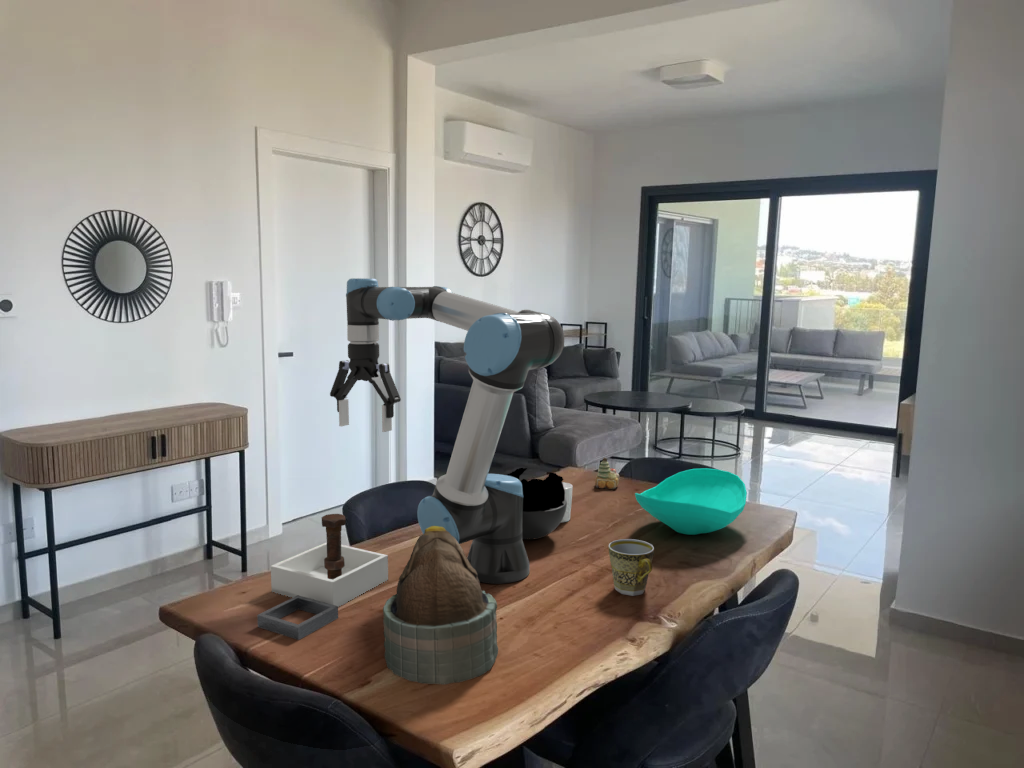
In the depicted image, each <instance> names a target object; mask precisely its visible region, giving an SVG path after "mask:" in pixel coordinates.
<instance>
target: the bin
mask: <svg viewBox="0 0 1024 768" xmlns="http://www.w3.org/2000/svg"><path fill="white" fill-rule="evenodd" d="M341 550H342V551H341V553H342V554H341V556H343V557H344V561H345V566H344V567H343V568H342V575H341V576H339V577H337V578H335V579H333V580H332V579H328V577H327V575H328V574H327V569H326V568H325V567H324V559H325V558H326V557H327V541H326V542H324V543H322V544H320V545H317V546H314V547H312V548H310V549H307V550H305V551H302V552H300V553H298V554H296V555H293V556H290V557H289V558H286V559H284V560H282V561H278V562H276V563H274V564H272V565H270V582H271V587H270V588H271V592H272V593H273V592H275V593H274V594H277V593H278V595H280V594H281V596H284V595H286V596H285V597H287V596H288V597H287V598H291V597H292V598H293V597H295V596H297V595H299V596H303V597H306V598H310V599H314V600H317V601H321V602H324V603H328V604H331V605H335V606H338V608H340V607H341V605H342V606H344V605H345V604H347V603H348V601H349V602H351V601H352V599H353V600H355V599H356V598H358V597H360V596H362V595H364V594H366V593H367V592H366V591H368V590H369V591H371V590H373V589H375V588H377V587H379V586H380V585H379V584H381V583H382V584H384V583H386V582H388V581H389V555H388V554H383V553H380V552H375V551H370V550H367V549H363V548H358V547H353V546H349V545H345V544H341ZM387 580H388V581H387ZM385 581H386V582H385ZM383 582H384V583H383ZM382 584H381V585H382ZM378 585H379V586H378ZM376 586H377V587H376ZM374 587H375V588H374ZM372 588H373V589H372ZM370 589H371V590H370ZM369 591H368V592H369ZM365 592H366V593H365ZM363 593H364V594H363ZM361 594H362V595H361ZM359 595H360V596H359ZM357 596H358V597H357ZM355 597H356V598H355ZM354 598H355V599H354ZM350 600H351V601H350ZM339 606H340V607H339Z"/></svg>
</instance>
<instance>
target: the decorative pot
mask: <svg viewBox="0 0 1024 768" xmlns="http://www.w3.org/2000/svg"><path fill="white" fill-rule="evenodd" d="M477 575H478V574H477V572H476V570H475V569H474V568H473V567H472V566H471V564H470V563H469V561H468V559H467V556H466V552H464V550H463V548H462V546H461V544H459V543H458V542H457V540H456V539H455V538H454V537H453V536H452V535H451V534H450V533H449V532H448V531H446V530H445V528H443V527H439V526H431V527H429V528H427V529H425V533H424V534H423V533H422V534H421V535H420V536H419V537H418V538H417V540H416V542H415V544H414V546H413V548H412V551H411V554H410V557H409V559H408V561H407V563H406V565H405V566H404V568H403V571H402V572H401V574H400V575H399V578H398V582H397V586H396V594H393V595H392V596H391V597H389V598H388V599H386V601H385V603H384V605H383V607H382V614H383V618H382V619H383V628H384V629H383V635H384V642H383V647H384V650H385V651H384V660H385V662H386V667H387V668H388V670H390V671H391V672H392V673H393V675H396V676H397V677H401V678H403V679H405V680H407V681H409V682H413V683H414V682H417V683H418V684H419V683H420V684H427V685H434V684H435V685H448V684H453V683H462V682H465V681H468V680H472V679H476V678H477V677H480V676H482V675H485V673H488V672H489V671H490V670H491V669H492V667H493V665H494V664H495V662H496V659H497V657H498V654H499V647H498V633H497V630H498V623H497V622H498V621H497V610H498V609H497V608H498V602H497V600H496V599H495V597H493V595H492V594H490V593H489V592H488V593H486V591H485V590H482V587H481V585H480V584H481V582H479V580H478V577H477ZM487 671H488V672H487Z"/></svg>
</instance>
